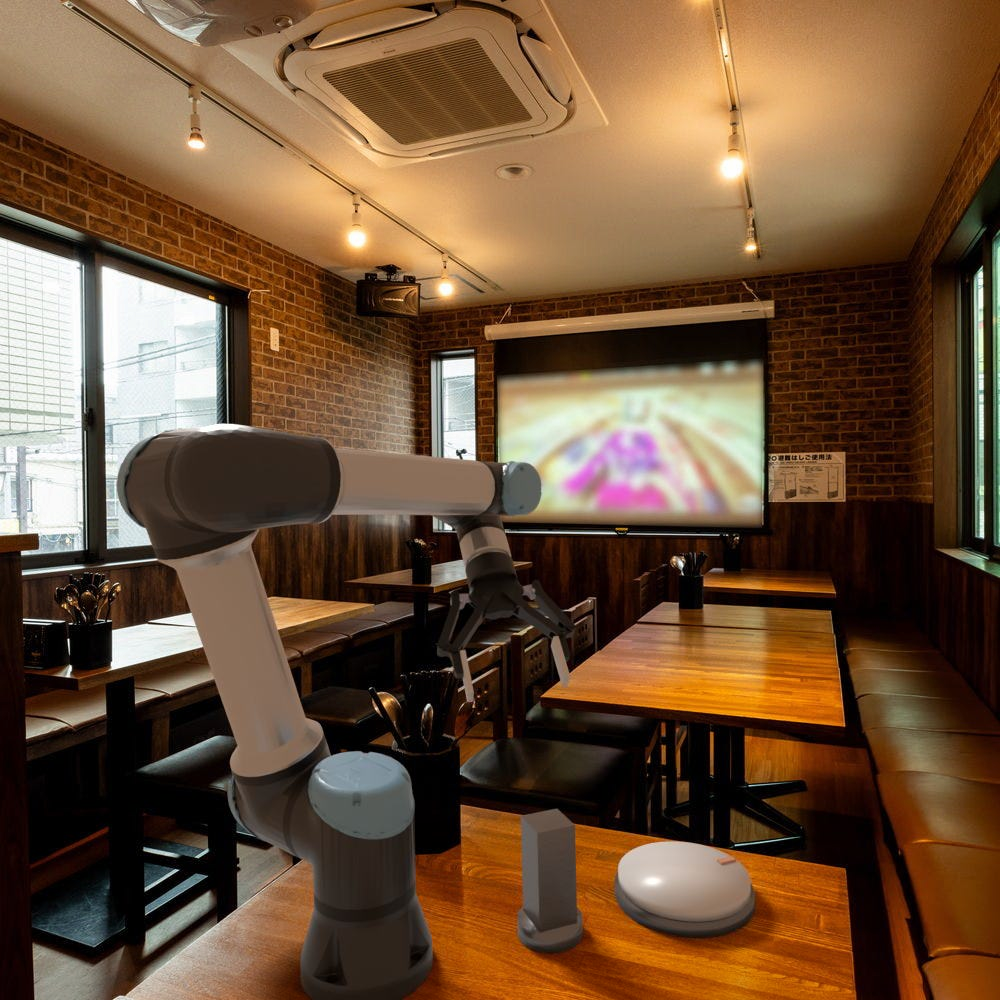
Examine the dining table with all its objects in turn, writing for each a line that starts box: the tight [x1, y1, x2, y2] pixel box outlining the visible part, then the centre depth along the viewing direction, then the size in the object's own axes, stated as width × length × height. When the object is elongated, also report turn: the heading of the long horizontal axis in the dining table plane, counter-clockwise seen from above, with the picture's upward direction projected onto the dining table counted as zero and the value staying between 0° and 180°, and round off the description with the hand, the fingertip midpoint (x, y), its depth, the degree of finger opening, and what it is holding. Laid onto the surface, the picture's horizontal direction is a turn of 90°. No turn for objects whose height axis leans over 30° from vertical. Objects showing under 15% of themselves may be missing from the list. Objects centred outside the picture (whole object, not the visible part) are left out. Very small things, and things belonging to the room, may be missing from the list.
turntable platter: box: [617, 841, 751, 922], centre depth 99 cm, size 17×17×2 cm
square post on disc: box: [516, 808, 584, 954], centre depth 91 cm, size 8×8×14 cm
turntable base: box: [614, 871, 756, 939], centre depth 99 cm, size 18×18×2 cm
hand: (519, 689), depth 102 cm, fingers open, 13 cm apart
